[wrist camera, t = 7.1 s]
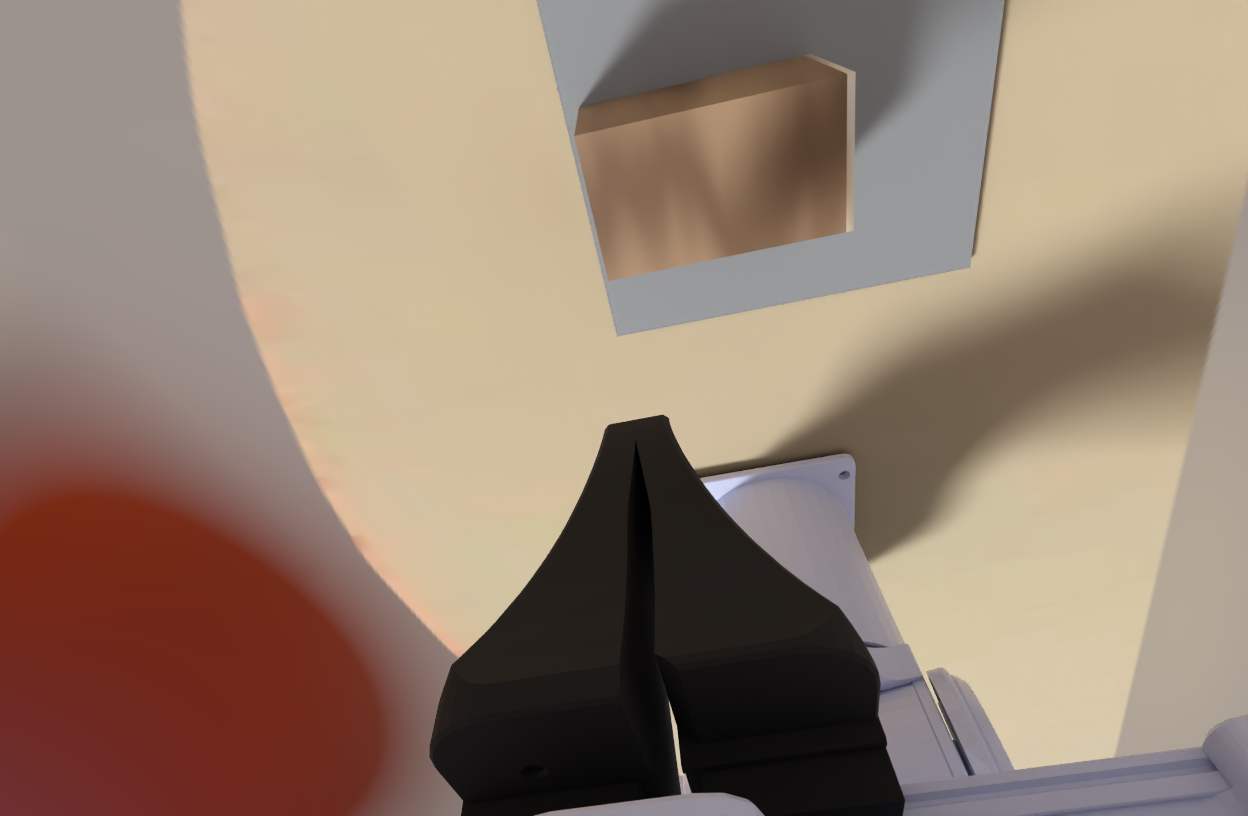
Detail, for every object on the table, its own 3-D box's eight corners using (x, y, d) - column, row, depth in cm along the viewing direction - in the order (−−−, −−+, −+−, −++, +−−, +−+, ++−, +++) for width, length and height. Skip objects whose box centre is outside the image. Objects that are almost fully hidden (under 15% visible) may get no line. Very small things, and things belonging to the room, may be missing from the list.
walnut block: (853, 230, 17) (608, 281, 18) (813, 189, 20) (607, 232, 21) (855, 71, 15) (574, 135, 16) (810, 53, 18) (579, 107, 19)
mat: (964, 263, 23) (969, 267, 22) (617, 331, 24) (617, 336, 23) (1013, -125, 16) (1021, -127, 16) (536, -6, 17) (535, -5, 17)
